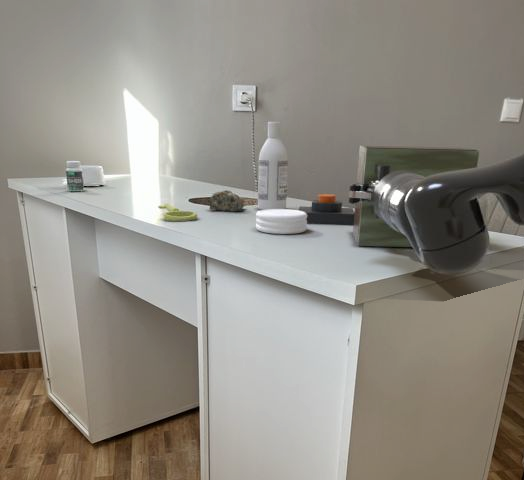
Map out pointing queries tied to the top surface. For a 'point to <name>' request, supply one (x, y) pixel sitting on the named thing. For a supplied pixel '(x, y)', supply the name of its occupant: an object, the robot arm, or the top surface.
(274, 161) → the bath foam
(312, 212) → the switch block
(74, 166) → the pill bottle
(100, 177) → the white rounded block
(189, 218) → the key
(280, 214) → the white flat cylinder
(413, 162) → the door
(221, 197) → the rock
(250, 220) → the top surface
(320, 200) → the button
